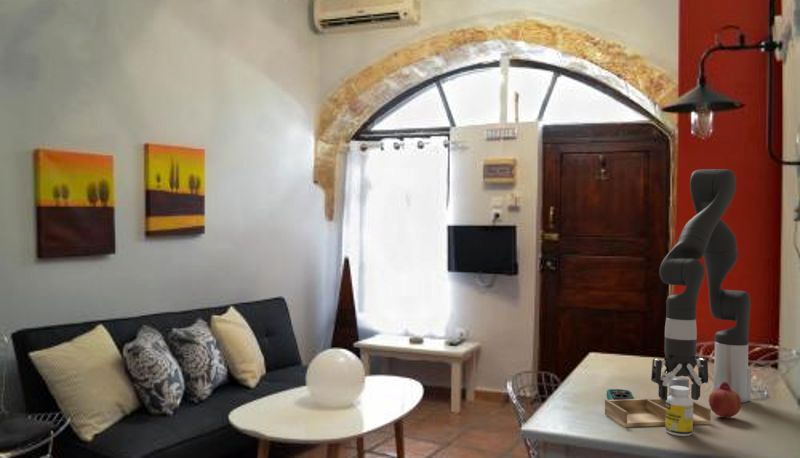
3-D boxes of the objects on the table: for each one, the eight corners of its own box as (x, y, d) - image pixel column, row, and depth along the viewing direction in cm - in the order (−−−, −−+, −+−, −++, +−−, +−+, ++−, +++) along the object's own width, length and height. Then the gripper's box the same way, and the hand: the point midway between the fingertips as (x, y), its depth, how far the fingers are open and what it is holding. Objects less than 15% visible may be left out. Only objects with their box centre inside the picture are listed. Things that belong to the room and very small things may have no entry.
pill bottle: (660, 429, 176) (661, 384, 176) (684, 428, 176) (685, 384, 176) (672, 437, 169) (673, 391, 169) (697, 436, 170) (698, 390, 170)
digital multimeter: (630, 398, 208) (631, 389, 208) (638, 412, 193) (638, 401, 193) (606, 397, 209) (606, 387, 209) (611, 410, 195) (611, 400, 194)
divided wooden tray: (686, 411, 192) (686, 397, 192) (710, 423, 181) (710, 409, 181) (604, 414, 189) (605, 400, 189) (624, 427, 177) (624, 411, 177)
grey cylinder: (681, 412, 188) (682, 376, 188) (691, 417, 183) (692, 381, 183) (664, 412, 187) (665, 376, 187) (674, 418, 182) (675, 381, 182)
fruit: (702, 416, 187) (703, 380, 187) (717, 412, 192) (718, 377, 192) (731, 424, 181) (732, 386, 181) (746, 418, 186) (747, 382, 186)
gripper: (662, 338, 168) (661, 404, 168) (715, 338, 170) (714, 403, 170) (647, 334, 175) (645, 396, 175) (697, 333, 177) (696, 395, 177)
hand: (679, 399), depth 173 cm, fingers open, 8 cm apart
